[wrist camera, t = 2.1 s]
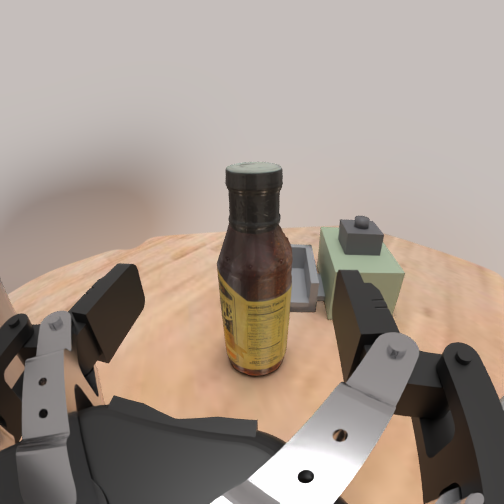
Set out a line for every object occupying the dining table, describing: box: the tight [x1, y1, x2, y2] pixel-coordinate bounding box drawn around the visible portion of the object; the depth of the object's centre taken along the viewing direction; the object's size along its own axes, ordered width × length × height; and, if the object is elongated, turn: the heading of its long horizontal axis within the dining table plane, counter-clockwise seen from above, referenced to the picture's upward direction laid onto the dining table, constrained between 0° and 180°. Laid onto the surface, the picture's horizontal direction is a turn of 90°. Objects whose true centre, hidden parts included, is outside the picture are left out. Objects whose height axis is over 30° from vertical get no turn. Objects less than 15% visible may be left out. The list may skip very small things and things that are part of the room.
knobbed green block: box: [290, 216, 405, 319], centre depth 37 cm, size 22×14×11 cm, turn 84°
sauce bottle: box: [217, 162, 293, 376], centre depth 24 cm, size 6×6×20 cm
